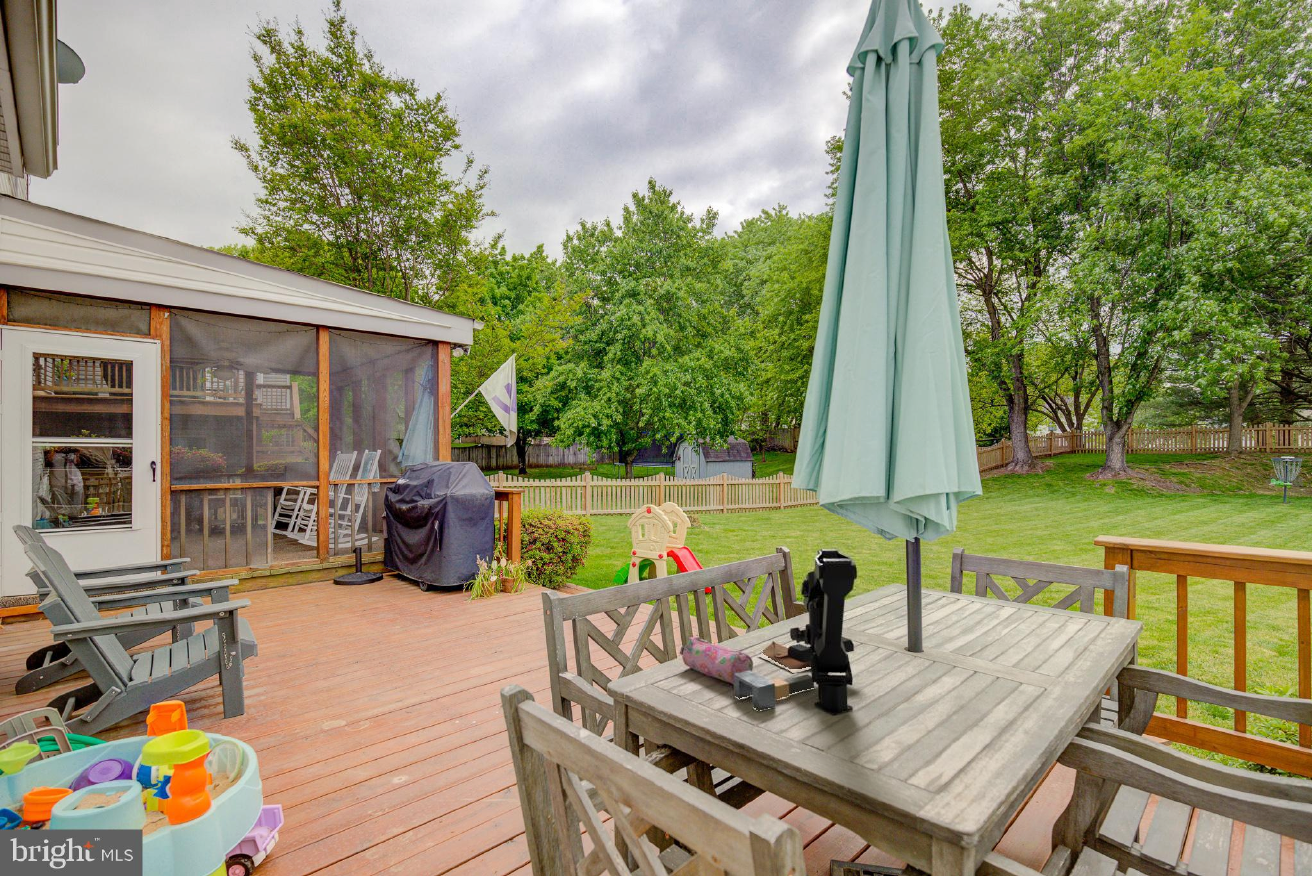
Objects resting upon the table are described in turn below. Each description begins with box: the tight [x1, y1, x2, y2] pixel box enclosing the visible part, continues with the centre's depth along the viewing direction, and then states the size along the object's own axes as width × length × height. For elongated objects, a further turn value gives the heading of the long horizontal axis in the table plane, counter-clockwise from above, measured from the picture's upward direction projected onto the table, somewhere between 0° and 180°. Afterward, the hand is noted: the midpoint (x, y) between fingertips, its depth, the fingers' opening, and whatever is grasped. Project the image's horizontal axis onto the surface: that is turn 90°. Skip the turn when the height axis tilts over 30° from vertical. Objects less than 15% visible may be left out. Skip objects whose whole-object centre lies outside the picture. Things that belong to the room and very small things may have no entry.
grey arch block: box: [733, 670, 776, 712], centre depth 138 cm, size 10×5×6 cm, turn 27°
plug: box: [768, 673, 815, 699], centre depth 144 cm, size 4×13×4 cm, turn 117°
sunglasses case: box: [761, 641, 811, 669], centre depth 165 cm, size 18×7×7 cm
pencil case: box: [679, 636, 754, 686], centre depth 156 cm, size 21×9×9 cm, turn 37°
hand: (822, 681), depth 148 cm, fingers closed
